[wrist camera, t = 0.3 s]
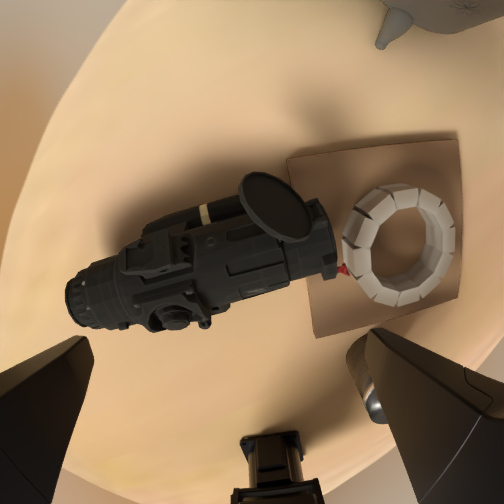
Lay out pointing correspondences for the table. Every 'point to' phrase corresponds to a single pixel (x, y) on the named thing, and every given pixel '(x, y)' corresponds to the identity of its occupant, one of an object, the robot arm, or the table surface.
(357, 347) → the lens
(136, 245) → the night vision scope
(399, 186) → the mount plate
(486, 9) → the grey footed pail
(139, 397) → the table surface
